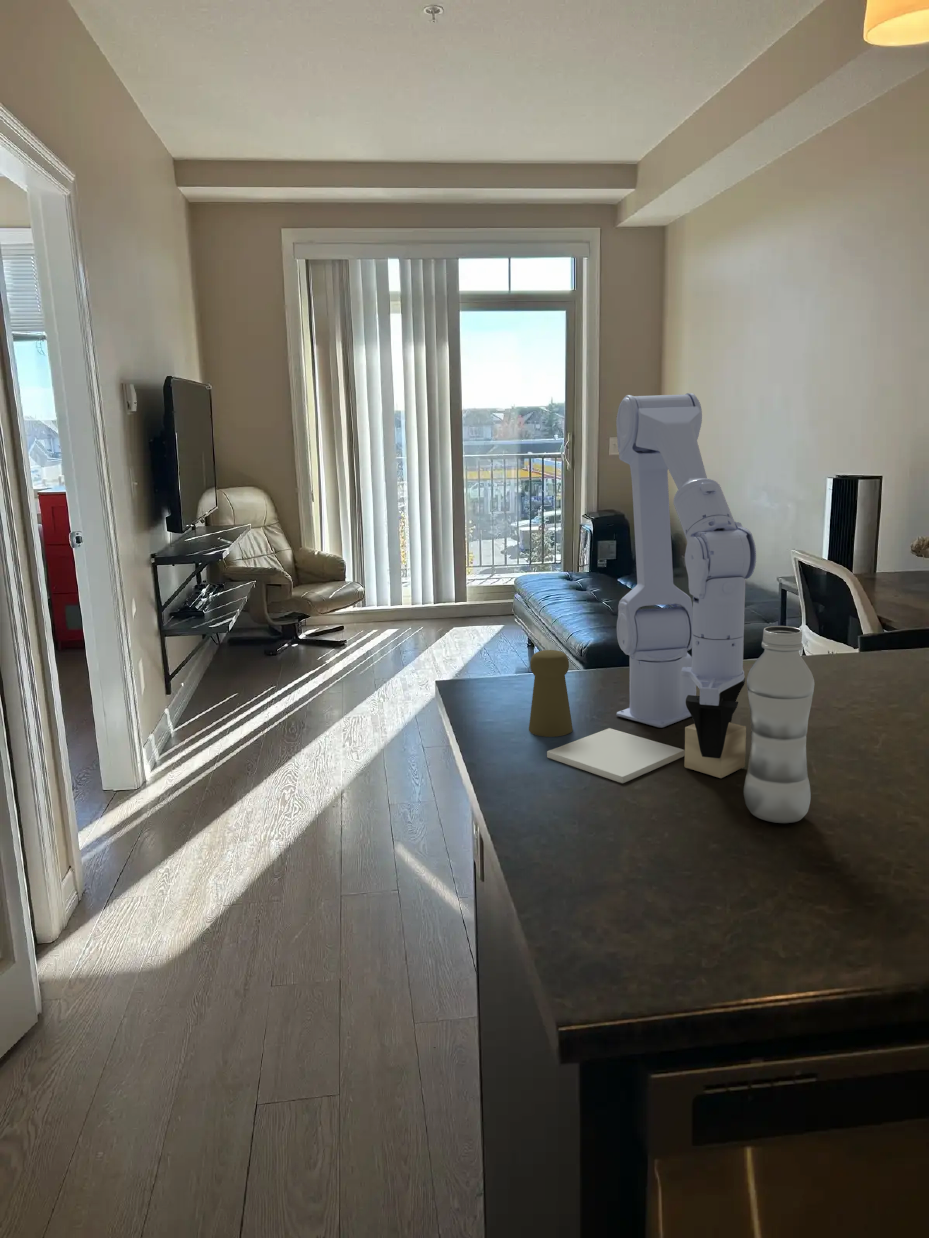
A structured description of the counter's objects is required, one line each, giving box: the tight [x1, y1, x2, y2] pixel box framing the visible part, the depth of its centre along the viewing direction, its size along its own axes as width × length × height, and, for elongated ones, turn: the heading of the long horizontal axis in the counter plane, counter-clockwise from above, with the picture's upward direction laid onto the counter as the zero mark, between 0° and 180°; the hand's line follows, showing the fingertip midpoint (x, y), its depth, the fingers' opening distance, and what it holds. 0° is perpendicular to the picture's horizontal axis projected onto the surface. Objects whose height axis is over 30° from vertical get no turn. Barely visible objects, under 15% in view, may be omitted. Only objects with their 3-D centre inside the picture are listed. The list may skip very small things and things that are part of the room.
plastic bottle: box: [743, 625, 816, 824], centre depth 91 cm, size 6×7×20 cm
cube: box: [684, 722, 747, 779], centre depth 105 cm, size 5×5×5 cm
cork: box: [528, 649, 574, 738], centre depth 121 cm, size 6×6×11 cm
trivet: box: [546, 727, 685, 784], centre depth 111 cm, size 12×12×1 cm
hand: (715, 745), depth 105 cm, fingers closed on cube, 7 cm apart
